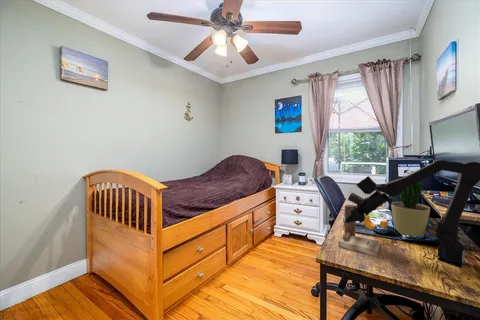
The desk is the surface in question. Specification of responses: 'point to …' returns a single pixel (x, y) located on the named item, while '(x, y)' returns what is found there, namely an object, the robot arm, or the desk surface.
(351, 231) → the tan upright block
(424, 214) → the potted cactus
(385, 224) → the pipe clamp
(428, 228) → the eagle figurine
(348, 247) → the pine board
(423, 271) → the desk surface
